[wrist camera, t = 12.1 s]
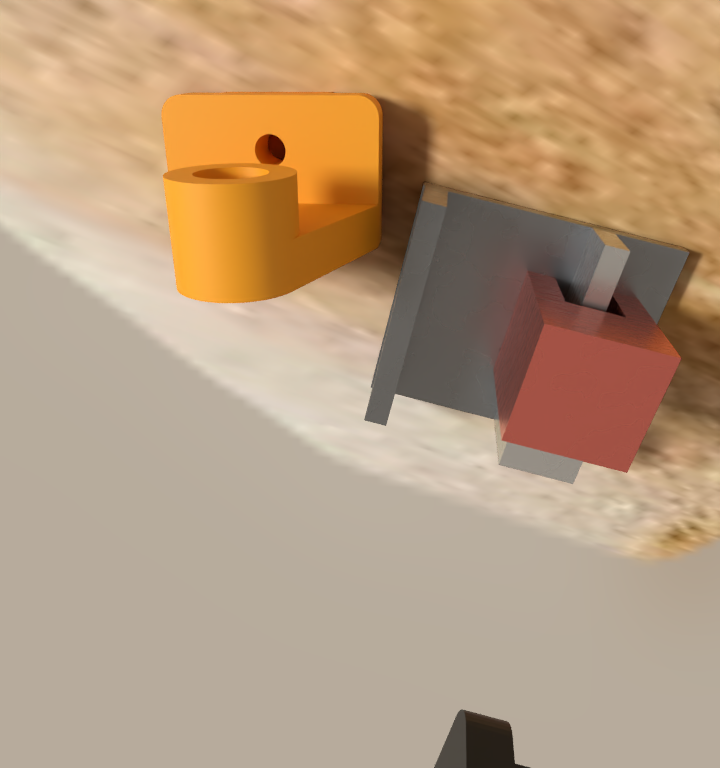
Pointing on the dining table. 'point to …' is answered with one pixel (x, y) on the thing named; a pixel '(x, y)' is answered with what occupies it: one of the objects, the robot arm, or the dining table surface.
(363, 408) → the dining table surface
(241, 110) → the bracket
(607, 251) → the bracket
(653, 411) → the block
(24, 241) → the dining table surface
